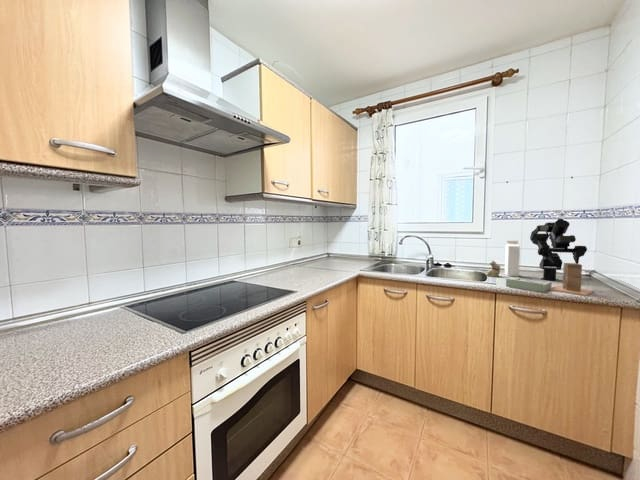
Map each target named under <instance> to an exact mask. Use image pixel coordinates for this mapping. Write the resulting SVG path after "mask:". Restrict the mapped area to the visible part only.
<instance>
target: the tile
mask: <svg viewBox="0 0 640 480" xmlns="http://www.w3.org/2000/svg"><path fill="white" fill-rule="evenodd" d="M548 291H551V292H557V291H558V292H559V293H563V292H565V294H570V293H571V294H570V295H577V296H583V297H587V296H589V295H590V294H592V293H594V291H595V290H594V289H590V288H589V289H588V288H583V287H581V291H573V290H566V289H564V288H563V284H561V285H560V284H558V285H555V286H552V288H550V289H548Z"/></svg>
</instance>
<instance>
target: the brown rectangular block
mask: <svg viewBox="0 0 640 480" xmlns="http://www.w3.org/2000/svg"><path fill="white" fill-rule="evenodd" d="M562 267H563V268H562V286H563V288H564V289H566V290H573V291H581V288H582V270H583V269H582V267H583V265H582V264H580V263H578V264H577V263H575V262H574V263H573V262H563V266H562Z"/></svg>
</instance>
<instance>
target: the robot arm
mask: <svg viewBox="0 0 640 480" xmlns="http://www.w3.org/2000/svg"><path fill="white" fill-rule="evenodd" d="M569 226H570V222H569V221H567V220H565V219H563V218H557V220H556V221H555V222H552V221H551V222H545V223H544V224H540V225H536V228H535V229H534V230H532V231H531V233H530V236H529V239H530V241H531V243H532V244H533V245H536V246H537V247H538V249H537V254H538V256H541V257H542V258H541V260H540V262H539V269H541V270H543V271H542V272H543V273H542V275H543V276H542V277H540V280H546V281H551V282H552V281H553V282H556V281H559V278H557V271H561V270H562V267H563V266H562V265H563V264H564V262H563V260H562V259H561V257H560V255H559V254H558V253H564V254H565V253H569V254H570V253H571V254H572V257H573V260H574V263H577V264H579V261H580V258H581V257H583V256H585V254H586V253H587V251H588V248H587V246H586V245H575V246H574V247H573V248H570V243H574V242H575V241H576V239H577V238H576V236H575V235H572V234H571V235H565V234H566V233H567V231H568V229H569ZM539 232H540V233H539ZM541 232H542V233H541ZM543 232H544V233H543ZM548 239H549V241H550V242H551V246H550V245H549V244H548Z"/></svg>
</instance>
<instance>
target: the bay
mask: <svg viewBox="0 0 640 480" xmlns="http://www.w3.org/2000/svg"><path fill="white" fill-rule="evenodd" d="M505 279H506V281H505V287H509V288H515V289H520V290H527V291H532V292H533V291H534V292H540V293H543V292H545V291H547V290H548V291H549V289H550V288H552V287H553V286H552V285H553V284H552V283H553V282H552V281H546V282H543V283H542V282H536V281H533V282H530V281H531V280H524V279H522V280H521V277H514V278H508V277H507V278H505Z"/></svg>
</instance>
